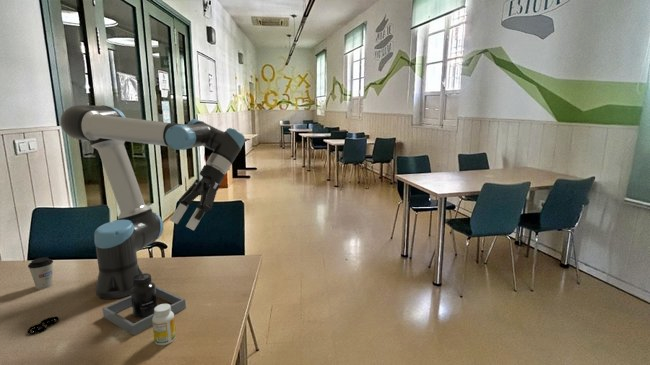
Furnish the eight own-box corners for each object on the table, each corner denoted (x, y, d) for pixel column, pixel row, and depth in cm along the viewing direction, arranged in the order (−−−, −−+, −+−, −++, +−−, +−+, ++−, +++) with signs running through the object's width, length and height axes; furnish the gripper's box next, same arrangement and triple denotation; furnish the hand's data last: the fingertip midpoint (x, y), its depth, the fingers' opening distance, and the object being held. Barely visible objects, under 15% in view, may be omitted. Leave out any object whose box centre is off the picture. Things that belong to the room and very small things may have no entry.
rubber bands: (64, 320, 104) (63, 317, 104) (36, 337, 96) (36, 333, 96) (50, 318, 105) (50, 315, 105) (22, 334, 97) (22, 331, 97)
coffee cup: (27, 288, 122) (22, 262, 121) (49, 280, 129) (44, 254, 127) (39, 292, 120) (34, 265, 118) (61, 283, 126) (57, 257, 124)
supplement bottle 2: (160, 348, 91) (156, 315, 89) (151, 340, 94) (147, 308, 92) (179, 338, 95) (176, 306, 93) (170, 331, 98) (167, 300, 97)
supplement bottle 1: (147, 320, 104) (143, 283, 101) (127, 317, 105) (123, 280, 103) (162, 307, 110) (159, 272, 108) (143, 305, 112) (139, 270, 109)
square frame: (103, 317, 105) (102, 308, 105) (155, 293, 119) (154, 285, 118) (133, 335, 96) (132, 325, 96) (185, 308, 110) (185, 299, 109)
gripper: (242, 177, 112) (207, 236, 105) (207, 174, 130) (176, 224, 123) (224, 164, 107) (186, 225, 100) (191, 162, 125) (157, 214, 118)
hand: (181, 225), depth 112 cm, fingers open, 13 cm apart
